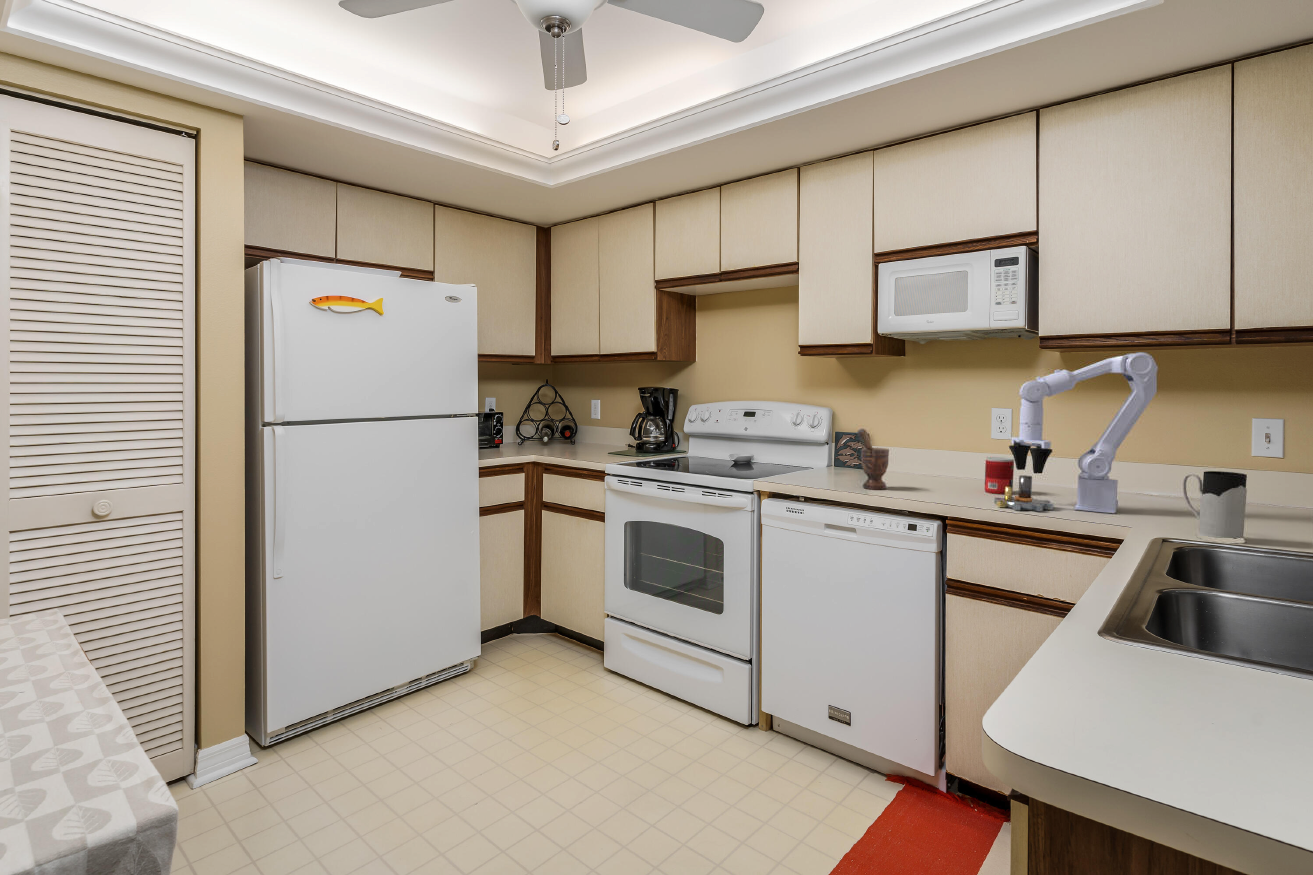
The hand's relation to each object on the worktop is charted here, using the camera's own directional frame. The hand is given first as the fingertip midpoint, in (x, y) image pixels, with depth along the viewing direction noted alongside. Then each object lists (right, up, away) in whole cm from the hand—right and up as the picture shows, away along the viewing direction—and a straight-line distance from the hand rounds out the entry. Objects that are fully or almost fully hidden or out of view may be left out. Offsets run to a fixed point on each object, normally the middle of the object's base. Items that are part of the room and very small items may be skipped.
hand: (1029, 471), depth 194 cm
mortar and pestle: (-35, -7, +30) cm, 47 cm away
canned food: (+3, -8, +23) cm, 25 cm away
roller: (-2, -7, -2) cm, 8 cm away
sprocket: (-2, -10, -1) cm, 10 cm away
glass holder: (+21, -13, -37) cm, 45 cm away
